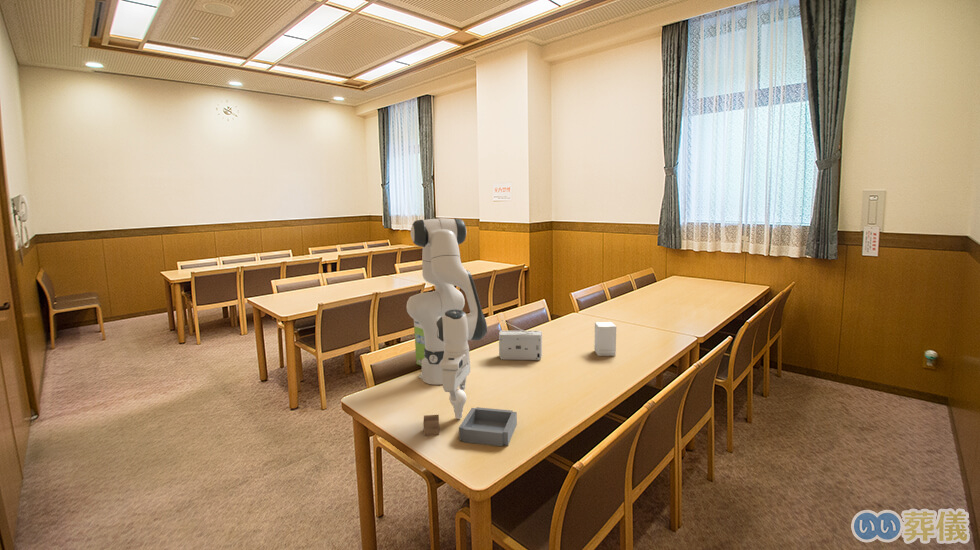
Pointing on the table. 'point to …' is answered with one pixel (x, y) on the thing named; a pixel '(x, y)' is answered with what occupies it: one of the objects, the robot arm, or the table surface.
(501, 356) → the stereo radio cassette player
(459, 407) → the lightbulb
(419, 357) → the toothbrush box
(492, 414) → the gray square tray
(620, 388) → the table surface
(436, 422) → the walnut block
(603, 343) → the supplement box
